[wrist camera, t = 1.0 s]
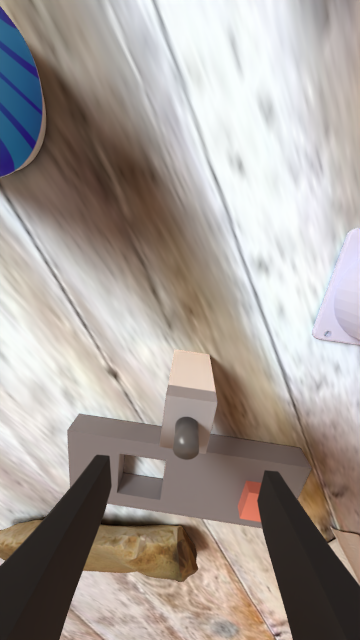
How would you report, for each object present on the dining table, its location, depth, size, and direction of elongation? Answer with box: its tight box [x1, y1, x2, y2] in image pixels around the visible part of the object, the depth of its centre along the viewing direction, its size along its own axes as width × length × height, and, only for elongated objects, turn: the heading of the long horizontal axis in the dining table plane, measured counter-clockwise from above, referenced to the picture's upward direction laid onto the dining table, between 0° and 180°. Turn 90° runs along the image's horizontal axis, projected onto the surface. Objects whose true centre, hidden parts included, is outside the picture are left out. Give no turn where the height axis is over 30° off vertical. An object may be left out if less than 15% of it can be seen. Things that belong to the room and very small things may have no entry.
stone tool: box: [0, 520, 198, 582], centre depth 25 cm, size 12×4×25 cm
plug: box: [159, 349, 217, 460], centre depth 14 cm, size 3×4×8 cm
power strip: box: [67, 414, 312, 528], centre depth 20 cm, size 22×9×3 cm, turn 82°
